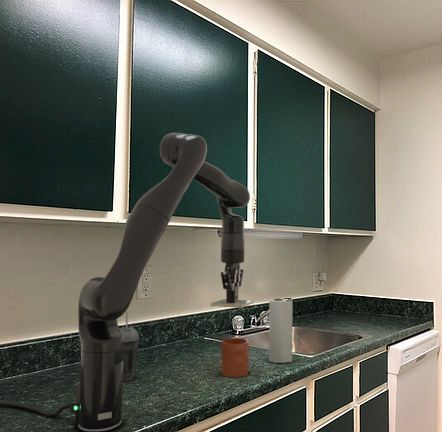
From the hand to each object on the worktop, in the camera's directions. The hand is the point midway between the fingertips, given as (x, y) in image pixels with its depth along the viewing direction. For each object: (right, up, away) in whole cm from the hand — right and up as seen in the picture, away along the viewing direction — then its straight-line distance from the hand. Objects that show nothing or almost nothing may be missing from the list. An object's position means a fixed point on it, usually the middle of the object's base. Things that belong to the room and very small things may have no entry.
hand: (232, 301), depth 144 cm
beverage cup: (-32, -22, -9) cm, 39 cm away
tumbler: (+1, -22, -1) cm, 22 cm away
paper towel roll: (+15, -23, +12) cm, 31 cm away
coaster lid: (0, -1, 0) cm, 1 cm away
